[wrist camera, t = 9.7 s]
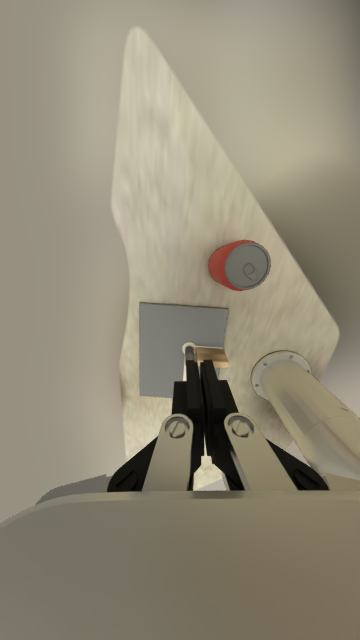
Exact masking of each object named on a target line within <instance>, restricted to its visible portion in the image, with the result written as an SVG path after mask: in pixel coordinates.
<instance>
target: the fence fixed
mask: <svg viewBox="0 0 360 640" xmlns="http://www.w3.org/2000/svg"><path fill="white" fill-rule="evenodd" d="M195 354H196V362H198V366H200V362H203V360H209V359H212V361H213V364H214V367H217V368H228V367H229V361H228V359H227V356H226V354H225V352H224V350H223V349H220V348H206V347H196V350H195Z"/></svg>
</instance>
